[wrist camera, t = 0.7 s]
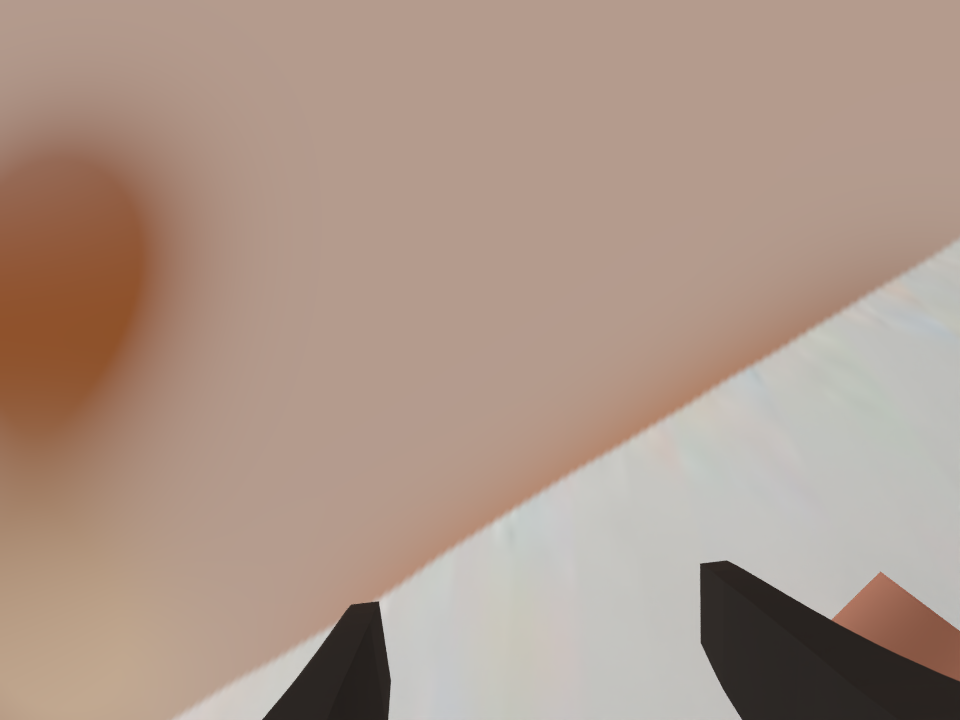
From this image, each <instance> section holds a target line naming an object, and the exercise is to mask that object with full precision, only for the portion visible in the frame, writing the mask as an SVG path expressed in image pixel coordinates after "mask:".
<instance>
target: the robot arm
mask: <svg viewBox="0 0 960 720" xmlns="http://www.w3.org/2000/svg"><path fill="white" fill-rule="evenodd" d="M700 595H701V644H702V646H703V648H704V651H705V653H706V655H707V657H708V659H709V661H710V663H711V666H712V668H713V670H714V672H715V674H716V676H717V678H718V680H719V682H720V684H721V686H722V688H723V690H724V691H725V693H726V695H727V696H728V698H729V699H730V701H731V703H732V704H733V706H734V707H735V709H736V711H737V712H738V714H739V715H740V717H741V719H742V720H960V681H958V680H955V679H953V678H951V677H948V676H946V675H943V674H941V673H939V672H936V671H934V670H932V669H930V668H927V667H925V666H923V665H921V664H919V663H916V662H914V661H912V660H910V659H907V658H905V657H903V656H901V655H898V654H896V653H894V652H892V651H890V650H888V649H886V648H884V647H882V646H880V645H878V644H876V643H874V642H872V641H870V640H868V639H866V638H864V637H862V636H860V635H858V634H856V633H854V632H852V631H851V630H849V629H847V628H845V627H843V626H841V625H839V624H837V623H835V622H834V621H832V620H830V619H828V618H826V617H825V616H823V615H821V614H819V613H817V612H816V611H814V610H812V609H810V608H809V607H807V606H805V605H803V604H802V603H800V602H798V601H796V600H795V599H793V598H791V597H790V596H788V595H786V594H784V593H783V592H781V591H779V590H778V589H776V588H774V587H773V586H771V585H769V584H768V583H766V582H764V581H762V580H761V579H759V578H757V577H756V576H754V575H752V574H751V573H749V572H747V571H745V570H744V569H742V568H740V567H738V566H737V565H735V564H733V563H731V562H729V561H719V562H710V563H702V564H700ZM390 686H391V679H390V672H389V665H388V659H387V652H386V646H385V639H384V633H383V626H382V619H381V613H380V606H379V602H370V603H362V604H354V605H351V606H350V607H349V608H348V609H347V610H346V612H345V613H344V614H343V616H342V617H341V619H340V620H339V621H338V623H337V624H336V626H335V627H334V629H333V630H332V631H331V633H330V634H329V636H328V637H327V638H326V640H325V641H324V643H323V644H322V645H321V647H320V648H319V649H318V651H317V652H316V654H315V655H314V656H313V657H312V659H311V660H310V661H309V663H308V664H307V665H306V667H305V668H304V669H303V671H302V672H301V673H300V675H299V676H298V677H297V678H296V680H295V681H294V682H293V683H292V685H291V686H290V687H289V688H288V690H287V691H286V692H285V693H284V694H283V696H282V697H281V698H280V699H279V700H278V702H277V703H276V704H275V705H274V706H273V707H272V709H271V710H270V711H269V712H268V713H267V715H266V716H265V717H264V718H263V719H262V720H388V714H389V700H390Z"/></svg>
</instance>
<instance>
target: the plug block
mask: <svg viewBox="0 0 960 720" xmlns="http://www.w3.org/2000/svg"><path fill="white" fill-rule="evenodd" d="M832 621H834V622H835V623H837V624H839V625H841V626H843V627H845V628H847V629H849V630H851V631H852V632H854V633H856V634H858V635H860V636H862V637H864V638H866V639H868V640H870V641H872V642H874V643H876V644H878V645H880V646H882V647H884V648H886V649H888V650H890V651H892V652H894V653H896V654H898V655H901V656H903V657H905V658H907V659H910V660H912V661H914V662H916V663H919V664H921V665H923V666H925V667H927V668H930V669H932V670H934V671H936V672H939V673H941V674H943V675H946V676H948V677H951V678H953V679H955V680H958V681H960V631H959V630H958V629H956V628H955V627H954V626H952V625H951V624H950V623H948V622H947V621H946V620H944V619H943V618H942V617H940V616H939V615H938V614H936V613H935V612H934V611H932V610H931V609H930V608H928V607H927V606H926V605H924V604H923V603H922V602H920V601H919V600H918V599H916V598H915V597H914V596H912V595H911V594H910V593H908V592H907V591H906V590H904V589H903V588H902V587H900V586H899V585H898V584H896V583H895V582H894V581H892V580H891V579H890V578H888V577H887V576H886V575H884V574H883V573H882V572H880V573H879V574H878V575H877V576H876V577H875V578H874V579H873V580H872V581H870V582H869V583H868V584H867V585H866V586H865V587H864V588H863V589H862V590H861V591H860V592H859V593H858V594H857V595H856V596H855V597H854V598H853V599H852V600H851V601H850V602H849V603H848V604H847V605H846V606H845V607H844V608H843V609H842V610H841V611H840V612H839V613H838V614H837V615H836V616H835V617H834V618H833V619H832Z"/></svg>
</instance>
